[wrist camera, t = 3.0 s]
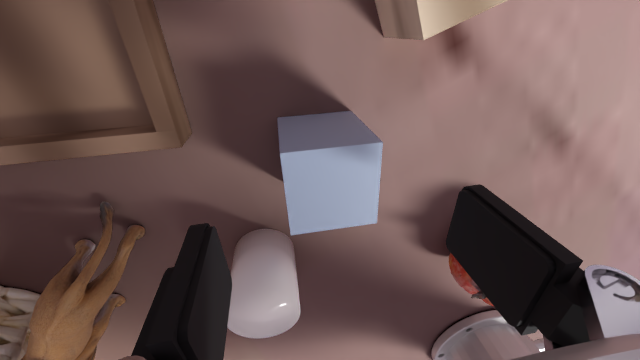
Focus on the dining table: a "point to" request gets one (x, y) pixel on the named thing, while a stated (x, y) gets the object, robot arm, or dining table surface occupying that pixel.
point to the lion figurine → (80, 299)
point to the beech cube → (426, 16)
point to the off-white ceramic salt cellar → (263, 285)
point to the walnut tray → (85, 81)
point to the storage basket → (15, 321)
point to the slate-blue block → (329, 171)
